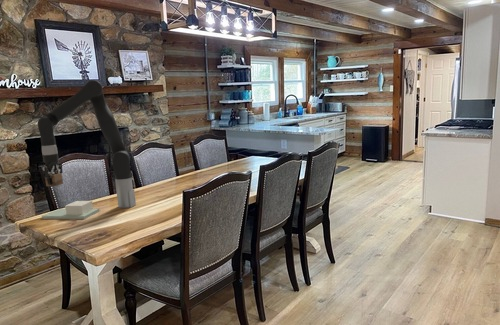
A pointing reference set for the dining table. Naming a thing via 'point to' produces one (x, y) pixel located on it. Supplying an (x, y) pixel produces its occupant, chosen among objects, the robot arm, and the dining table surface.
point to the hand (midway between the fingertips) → (54, 183)
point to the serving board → (62, 215)
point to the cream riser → (79, 207)
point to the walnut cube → (55, 179)
